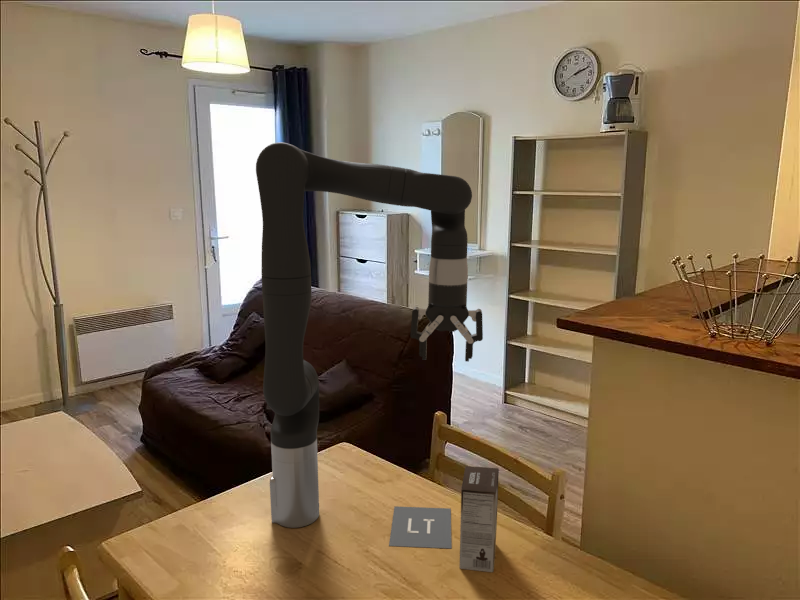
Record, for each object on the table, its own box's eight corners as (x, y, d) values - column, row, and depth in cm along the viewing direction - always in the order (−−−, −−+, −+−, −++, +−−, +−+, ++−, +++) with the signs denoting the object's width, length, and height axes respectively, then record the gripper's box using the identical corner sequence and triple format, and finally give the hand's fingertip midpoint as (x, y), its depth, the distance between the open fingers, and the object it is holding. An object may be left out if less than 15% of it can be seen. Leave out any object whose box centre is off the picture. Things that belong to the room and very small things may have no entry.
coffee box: (463, 539, 120) (465, 464, 116) (496, 543, 119) (499, 467, 115) (458, 569, 111) (460, 488, 108) (494, 573, 110) (497, 492, 106)
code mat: (388, 547, 118) (388, 545, 118) (394, 507, 132) (394, 506, 131) (451, 549, 117) (451, 548, 117) (450, 509, 131) (450, 508, 131)
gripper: (410, 282, 117) (408, 364, 120) (485, 284, 115) (482, 367, 119) (413, 275, 124) (411, 352, 127) (484, 277, 123) (480, 355, 126)
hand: (445, 359), depth 123 cm, fingers open, 8 cm apart
